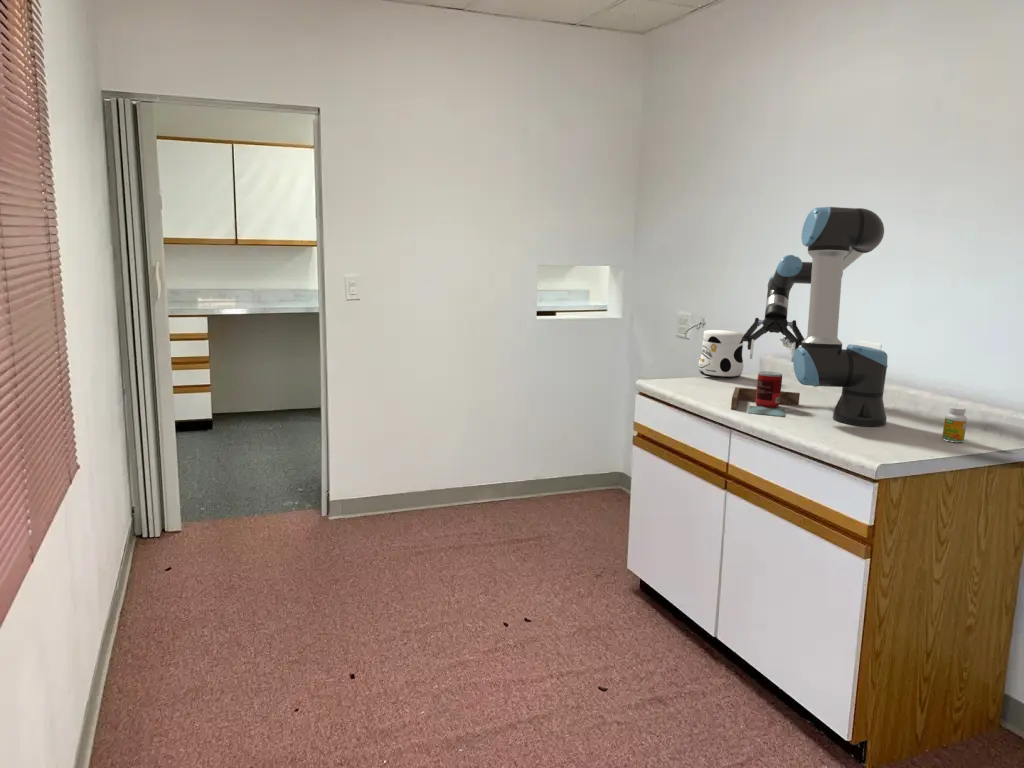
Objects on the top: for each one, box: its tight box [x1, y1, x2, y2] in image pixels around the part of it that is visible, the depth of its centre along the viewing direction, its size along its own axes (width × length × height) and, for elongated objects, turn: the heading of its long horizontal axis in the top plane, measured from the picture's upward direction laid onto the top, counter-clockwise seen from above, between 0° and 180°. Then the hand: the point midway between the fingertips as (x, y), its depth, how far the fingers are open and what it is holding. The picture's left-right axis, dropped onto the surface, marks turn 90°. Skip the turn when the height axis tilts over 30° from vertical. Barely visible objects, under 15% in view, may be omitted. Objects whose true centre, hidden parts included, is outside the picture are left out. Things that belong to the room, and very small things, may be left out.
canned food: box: [755, 370, 783, 408], centre depth 253 cm, size 8×8×11 cm
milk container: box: [698, 329, 744, 380], centre depth 304 cm, size 17×17×18 cm
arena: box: [730, 386, 801, 418], centre depth 251 cm, size 21×22×4 cm
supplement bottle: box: [941, 405, 968, 443], centre depth 216 cm, size 5×5×10 cm
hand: (771, 358), depth 261 cm, fingers open, 13 cm apart
